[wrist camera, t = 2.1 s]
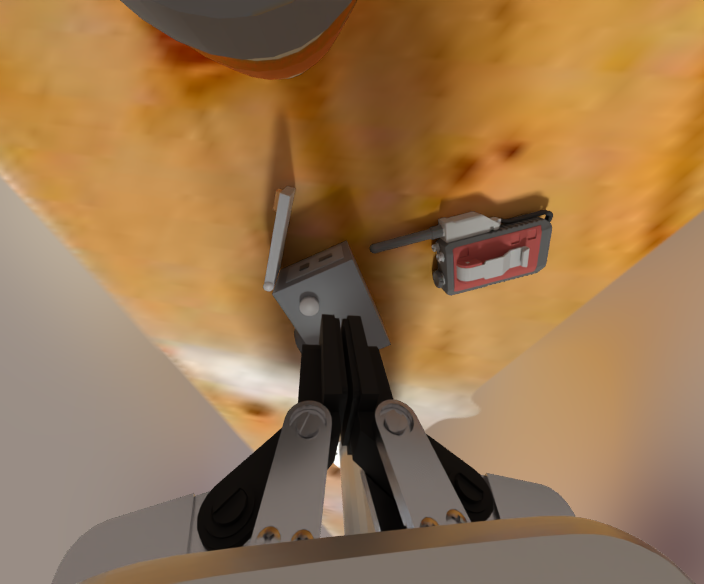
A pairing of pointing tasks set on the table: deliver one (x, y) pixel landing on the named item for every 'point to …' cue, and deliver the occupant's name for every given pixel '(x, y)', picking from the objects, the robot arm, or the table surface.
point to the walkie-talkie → (482, 248)
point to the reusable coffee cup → (251, 31)
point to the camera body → (327, 295)
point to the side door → (279, 234)
